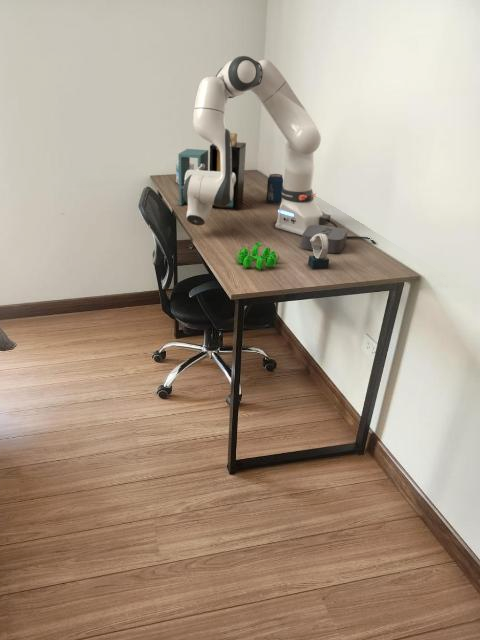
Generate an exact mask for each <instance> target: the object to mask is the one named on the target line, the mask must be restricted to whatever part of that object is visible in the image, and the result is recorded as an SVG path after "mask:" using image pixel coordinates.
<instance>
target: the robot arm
mask: <svg viewBox="0 0 480 640" xmlns="http://www.w3.org/2000/svg"><path fill="white" fill-rule="evenodd" d="M247 91H251V92H252V93H253V94H255V95H256V97H257V98H258V100H259V102H260V103H261V104H262V106H263V107H264V109H265V111H266V112H267V114H268V115H269V116H270V118H271V119H272V121H273V122H274V123H275V125H276V126H277V127H278V129H279V130H280V132H281V134H282V135H283V136H284V138H285V152H284V153H285V155H284V158H285V159H284V161H285V162H284V163H285V164H284V165H285V166H284V177H283V188H282V196H281V197H282V199H281V201H280V205H279V208H278V210H277V213H278V214H277V219H276V222H275V224H274V228H276V229H280V230H282V231H286V232H290V233H292V234H296V235H300V236H303V233H304V231H305V230H306V229H307V228H308V227H309V226H310V225H321V226H328V224H332V225H333V227H337V228H339V227H338V225H337V224H336V223H335V222H333V221H332V220H331V214H325V213H324V214H323V211H322V210H321V209H320V207H318V205H317V203H316V202H315V201H314V197H316V195H317V193H316V192H315V193H314V191H313V188H312V186H313V181H314V180H313V178H314V172H315V171H314V170H315V166H314V165H315V164H314V154H315V152H316V151H317V150H318V149H319V147H320V145H321V141H322V139H321V138H322V134H321V131H320V128H319V127H318V126H317V123H316V122H315V121H314V119H313V118H312V117H311V115H310V113H309V112H308V111H307V109H306V108H305V106H304V105H303V104H302V102H301V101H300V100H299V98H298V97H297V95H296V94H295V92H294V91H293V89H292V87H291V85H290V84H289V83H288V81H287V80H286V78H285V77H284V75H283V74H282V73H281V71H280V70H279V69H278V68H277V67H276V65H274V64H273V62H271V61H270V60H269V59H260V60H258V61H257V60H255V59H254V58H252V57H250V56H246V55H239V56H237V57H235V58H234V59H230V61H228V62H227V63H225V65H224V66H222V67H221V68H220V69H219V70H218V72H217V73H216V75H214V76H213V75H211V76H206V77H204V78H203V79H202V80H200V83H199V85H198V89H197V92H196V97H195V100H194V107H193V115H192V126H193V129H194V130H195V132H196V133H197V135H198V136H199V137H201V138H202V139H203V140H205V141H207V142H209V143H210V144H211V145H212V144H214V145H215V146H216V147H217V148H218V149H219V151H220V167H221V172H218V171H210V170H208V171H203V170H204V169H205V164H201V166H200V167H198V166H197V168H196V169H194V170H188V171H186V174H185V182H184V187H183V197H184V199H185V201H186V202H185V204H186V205H187V210H186V221H187V222H188V223H189V224H191V225H193V226H203V225H205V224H206V222H207V221H208V219H209V217H210V215H211V212H212V210H213V208H212V205H215V206H219V207H225V206H226V205H228V204H229V203H230V202H231V201H232V198H233V194H234V190H233V188H234V184H235V182H236V175H235V173H233V172H232V140H231V134H230V133H231V131H230V130H229V129H228V128H227V127H226V122H225V116H226V115H225V114H226V106H227V102H228V100H229V99H233V98H235V97H239V96H241V95H244V94H245V93H246V92H247ZM368 237H369V236H357V235H352V236H351V235H350V236H349V235H347V238H346V239H358V240H359V239H361V240H369V239H370V238H371V237H369V238H368ZM370 241H371V243H372V244H374V245H376V240H374V239H373V240H370Z"/></svg>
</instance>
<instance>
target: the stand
mask: <svg viewBox="0 0 480 640" xmlns="http://www.w3.org/2000/svg"><path fill="white" fill-rule="evenodd" d="M177 155H178V157H177V158H178V159H177V160H178V161H179V184H178V206H179V207H180V206H183V205H185V204H186V201H185V199H184V197H183V187H184V182H185V174H186V171H188V170H190V162H191V159H193V158H194V159H197V168H198V167H200V166H201V164H205V169H204V170H203V171H209V149H196V148H186V149H184V150H183V151H181V152H179V153H178V154H177Z"/></svg>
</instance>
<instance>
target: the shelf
mask: <svg viewBox="0 0 480 640" xmlns="http://www.w3.org/2000/svg"><path fill="white" fill-rule="evenodd" d="M246 146H247V142H238V141H237V144H236V145H235V146H232V172H233V173H235V175H236V182H235V184H234V188H233V190H234V194H233V198H232V201H231V202H230V203H229V204H228V205H226V206H225V207H219V206H215V205H212V209H215V210H217V209H219V210H228V211H229V210H230V211H238V210H239V209H240V208H241V206H243V203H244V187H245V186H244V185H245V167H246V149H247V147H246ZM209 171H218V172H221V167H220V151H219V150H217V147H216V146H215V145H214V144H212V143H211V144H210V145H209Z"/></svg>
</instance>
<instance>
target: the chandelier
mask: <svg viewBox="0 0 480 640" xmlns="http://www.w3.org/2000/svg"><path fill="white" fill-rule="evenodd" d="M260 247H262V243H261V242H255V243H254V246H253V247H252V249H251V251H250V250H249V248H247V247H241V248H240V249H239V251H238V252H237V253H236V254H235V257H234V260H235V262H236V263H237V264H239V265H243V268H245V269H249V268H250V267H251V266H252V264H253V261H254V260H256V263H255V264H256V267H255V268H256V269H258V271H261V270H262V269H263V268H264V264H265V266H266V267H267V268H270V269H271V268H274V267H275V266H276V264H277V263H278V261H279V259H280V254H279V253H278V252H277V251H275V250H271V248H270V247H268V246H266V247H264V249H263V251H262V254H261V255H259V248H260ZM237 256H238V258H237Z"/></svg>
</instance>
